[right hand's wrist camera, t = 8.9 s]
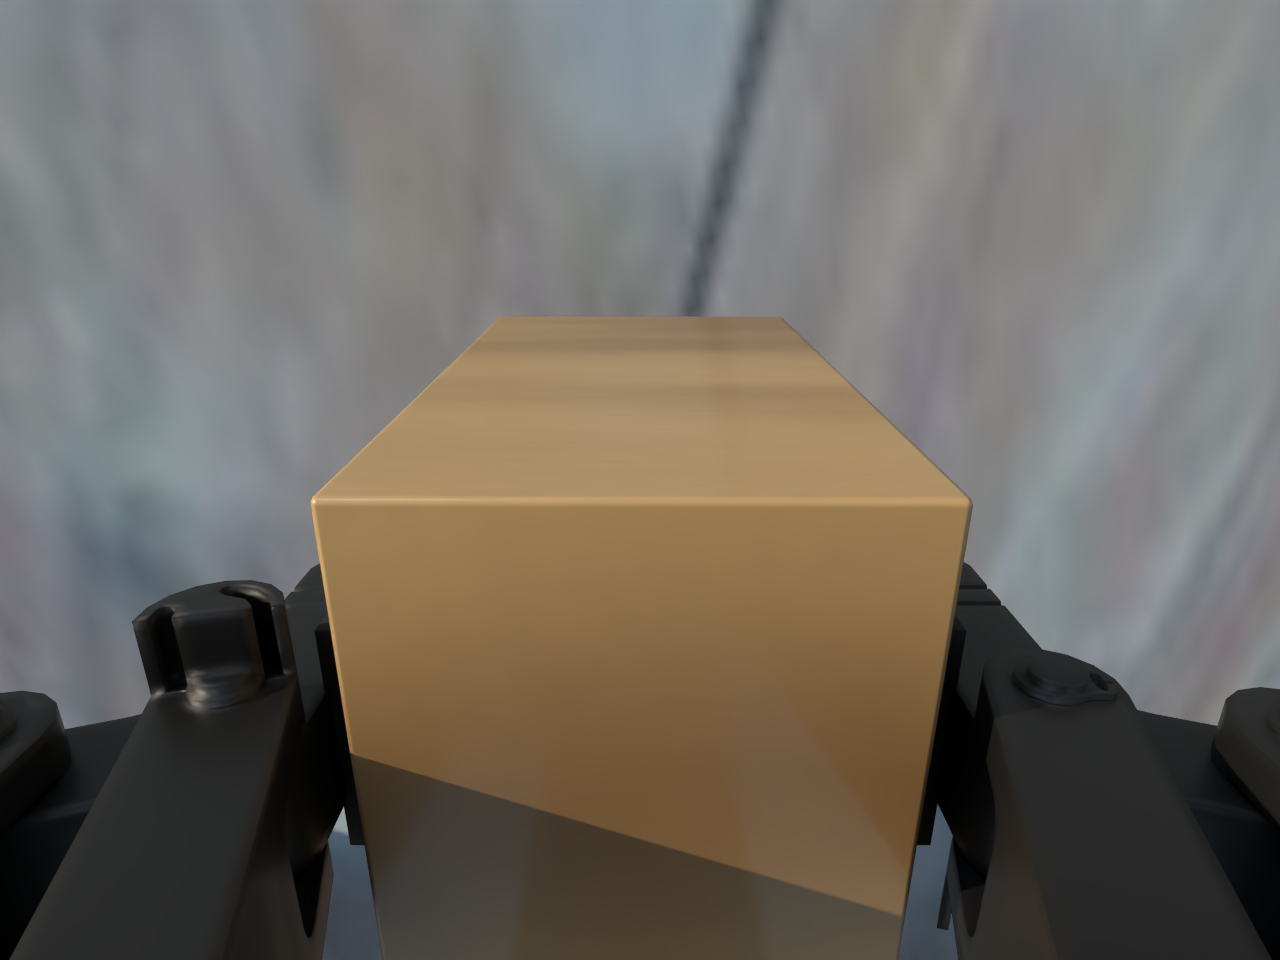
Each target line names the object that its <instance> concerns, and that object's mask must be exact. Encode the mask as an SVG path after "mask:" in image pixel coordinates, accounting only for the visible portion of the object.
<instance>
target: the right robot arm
mask: <svg viewBox="0 0 1280 960" xmlns="http://www.w3.org/2000/svg"><path fill="white" fill-rule="evenodd" d="M132 624H133V628H134V632H135V635H136V639H137V643H138V647H139V651H140V654H141V658H142V662H143V666H144V670H145V673H146V677H147V681H148V685H149V689H150V692H151V698H150V700H149V701H148V703H147V705H146V707H145V709H144V711H143V713H142V714H140V715H136V716H132V717H128V718H122V719H117V720H112V721H107V722H101V723H96V724H91V725H86V726H80V727H75V728H70V729H64V725H63V722H62V719H61V716H60V713H59V710H58V706H57V703H56V702H55V701H53V700H52V699H51V698H49V697H48V696H47V695H45V694H42V693H34V692H27V691H16V692H7V693H0V960H322V955H323V948H324V940H325V933H326V926H327V918H328V911H329V904H330V897H331V889H332V882H333V868H332V860H331V854H330V849H329V843H328V838H329V836H330V834H331V832H332V830H333V828H334V826H335V824H336V821H337V819H338V817H339V815H340V813H341V811H342V809H343V807H344V809H345V815H346V821H347V827H348V833H349V838H350V844H351V845H365V844H364V837H363V831H362V825H361V818H360V812H359V806H358V799H357V793H356V787H355V780H354V774H353V768H352V762H351V755H350V749H349V743H348V736H347V730H346V724H345V717H344V711H343V705H342V698H341V692H340V686H339V680H338V673H337V667H336V661H335V654H334V648H333V642H332V635H331V629H330V623H329V616H328V610H327V604H326V598H325V591H324V585H323V579H322V572H321V566H320V564H318V565H316V566H315V567H313V568H311V569H310V570H309V572H308V573H307V574H306V575H305V576H304V578H303V579H302V580H301V581H300V582H299V583H298V585H297V586H296V587H295V591H294V592H291V593H290V594H289V595H288V596H287V597H286V599H285V600H284V596H283V592H281V591H280V590H278V589H277V588H276V587H274V586H273V585H272V584H267V583H262V582H257V581H252V580H245V581H223V582H217V583H212V584H206V585H201V586H196V587H193V588H190V589H187V590H184V591H181V592H178V593H175V594H172V595H170V596H168V597H166V598H164V599H162V600H160V601H158V602H157V603H155V604H153V605H151V606H149V607H147V608H146V609H145V610H144V611H143V612H142V613H141V614H140V615H139V616H138V617H136V618H135V619H134V620H133V621H132ZM937 803H938V805H939V807H940V809H941V811H942V813H943V815H944V817H945V820H946V822H947V824H948V826H949V828H950V830H951V832H952V834H953V838H952V843H951V849H950V854H949V860H948V865H947V871H946V876H945V882H944V887H943V893H942V898H941V904H940V909H939V916H938V923H937V928H940V929H945V930H948V927H949V922H950V916H951V913H952V917H953V924H954V931H955V939H956V946H957V953H958V960H1280V689H1272V688H1263V687H1258V688H1251V689H1243V690H1238V691H1236V692H1235V693H1234V694H1232V695H1231V696H1229V697H1228V698H1227V699H1226V701H1225V704H1224V707H1223V710H1222V713H1221V716H1220V720H1219V723H1218V726H1215V725H1209V724H1204V723H1199V722H1193V721H1188V720H1183V719H1178V718H1172V717H1167V716H1162V715H1156V714H1152V713H1148V712H1143V711H1139V710H1137V709H1136V707H1135V706H1134V704H1133V702H1132V700H1131V698H1130V696H1129V695H1128V694H1127V692H1126V691H1125V690H1124V689H1123V688H1122V687H1121V685H1120V684H1119V683H1118V682H1117V681H1116V680H1115V679H1114V678H1112V677H1111V676H1109V675H1108V674H1106V673H1104V672H1103V671H1101V670H1100V669H1098V668H1097V667H1095V666H1094V665H1091V664H1089V663H1086V662H1084V661H1081V660H1079V659H1076V658H1074V657H1071V656H1069V655H1065V654H1061V653H1056V652H1051V651H1047V650H1042V649H1041V648H1040V646H1039V645H1038V644H1037V643H1036V642H1035V641H1034V639H1033V638H1032V637H1031V636H1030V635H1029V634H1028V633H1027V631H1026V630H1025V629H1024V628H1023V627H1022V626H1021V624H1020V623H1019V622H1018V621H1017V620H1016V619H1015V617H1014V616H1013V615H1012V614H1011V613H1010V612H1009V610H1008V609H1007V608H1006V607H1005V606H1001V601H1000V600H999V599H998V598H997V596H996V595H995V594H994V593H993V592H992V591H991V589H987V585H986V584H985V582H984V581H983V580H982V579H981V578H980V577H979V575H978V574H977V573H976V572H975V571H974V570H973V569H972V567H971V566H970V565H968V564H966V563H964V562H963V568H962V574H961V580H960V586H959V592H958V598H957V604H956V610H955V616H954V622H953V628H952V634H951V641H950V647H949V653H948V659H947V665H946V671H945V677H944V683H943V689H942V695H941V701H940V707H939V713H938V719H937V725H936V731H935V737H934V743H933V750H932V756H931V762H930V768H929V774H928V780H927V786H926V792H925V798H924V804H923V810H922V816H921V822H920V828H919V834H918V840H917V845H930V844H931V838H932V832H933V826H934V820H935V814H936V808H937Z"/></svg>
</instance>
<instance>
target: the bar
mask: <svg viewBox="0 0 1280 960" xmlns="http://www.w3.org/2000/svg"><path fill="white" fill-rule="evenodd" d="M972 507H973V504H972V500H971V498H970V497H969V496H968V495H967V494H966V493H965V492H964V491H963V490H961V489H960V488H959V487H958V486H957V485H956V484H955V483H954V482H953V481H952V480H951V479H950V478H949V477H948V476H947V475H946V474H945V473H944V472H943V471H942V470H941V469H939V468H938V467H937V466H936V465H935V464H934V463H933V462H932V461H931V460H930V459H929V458H928V457H927V456H926V455H925V454H924V453H923V452H922V451H921V450H920V449H919V448H918V447H916V446H915V445H914V444H913V443H912V442H911V441H910V440H909V439H908V438H907V437H906V436H905V435H904V434H903V433H902V432H901V431H900V430H899V429H898V428H897V427H896V426H894V425H893V424H892V423H891V422H890V421H889V420H888V419H887V418H886V417H885V416H884V415H883V414H882V413H881V412H880V411H879V410H878V409H877V408H876V407H875V406H874V405H872V404H871V403H870V402H869V401H868V400H867V399H866V398H865V397H864V396H863V395H862V394H861V393H860V392H859V391H858V390H857V389H856V388H855V387H854V386H853V385H852V384H851V383H849V382H848V381H847V380H846V379H845V378H844V377H843V376H842V375H841V374H840V373H839V372H838V371H837V370H836V369H835V368H834V367H833V366H832V365H831V364H830V363H829V362H827V361H826V360H825V359H824V358H823V357H822V356H821V355H820V354H819V353H818V352H817V351H816V350H815V349H814V348H813V347H812V346H811V345H810V344H809V343H808V342H807V341H805V340H804V339H803V338H802V337H801V336H800V335H799V334H798V333H797V332H796V331H795V330H794V329H793V328H792V327H791V326H790V325H789V324H788V323H787V322H786V321H785V320H784V319H782V318H781V317H561V316H502V317H500V318H498V319H497V320H496V321H495V322H494V323H493V324H492V325H491V326H490V327H489V328H488V329H487V330H486V331H485V332H484V333H483V334H482V335H481V336H480V337H479V338H478V339H477V340H476V341H475V342H473V343H472V344H471V345H470V346H469V347H468V348H467V349H466V350H465V351H464V352H463V353H462V354H461V355H460V356H459V357H458V358H457V359H456V360H455V361H454V362H453V363H452V364H451V365H450V366H449V367H447V368H446V369H445V370H444V371H443V372H442V373H441V374H440V375H439V376H438V377H437V378H436V379H435V380H434V381H433V382H432V383H431V384H430V385H429V386H428V387H427V388H426V389H425V390H424V391H423V392H421V393H420V394H419V395H418V396H417V397H416V398H415V399H414V400H413V401H412V402H411V403H410V404H409V405H408V406H407V407H406V408H405V409H404V410H403V411H402V412H401V413H400V414H399V415H398V416H396V417H395V418H394V419H393V420H392V421H391V422H390V423H389V424H388V425H387V426H386V427H385V428H384V429H383V430H382V431H381V432H380V433H379V434H378V435H377V436H376V437H375V438H374V439H373V440H372V441H370V442H369V443H368V444H367V445H366V446H365V447H364V448H363V449H362V450H361V451H360V452H359V453H358V454H357V455H356V456H355V457H354V458H353V459H352V460H351V461H350V462H349V463H348V464H347V465H346V466H344V467H343V468H342V469H341V470H340V471H339V472H338V473H337V474H336V475H335V476H334V477H333V478H332V479H331V480H330V481H329V482H328V483H327V484H326V485H325V486H324V487H323V488H322V489H321V490H319V491H318V492H317V493H316V494H315V495H314V496H313V497H312V501H311V509H312V516H313V522H314V528H315V534H316V541H317V547H318V553H319V560H320V566H321V572H322V579H323V585H324V591H325V598H326V604H327V610H328V616H329V623H330V629H331V635H332V642H333V648H334V654H335V661H336V667H337V673H338V680H339V686H340V692H341V698H342V705H343V711H344V717H345V724H346V730H347V736H348V743H349V749H350V755H351V762H352V768H353V774H354V780H355V787H356V793H357V799H358V806H359V812H360V818H361V825H362V831H363V837H364V844H365V850H366V856H367V862H368V869H369V875H370V881H371V888H372V894H373V900H374V907H375V913H376V919H377V925H378V932H379V938H380V944H381V951H382V957H383V960H898V955H899V949H900V943H901V937H902V931H903V925H904V919H905V913H906V907H907V901H908V895H909V889H910V883H911V877H912V871H913V865H914V859H915V852H916V846H917V840H918V834H919V828H920V822H921V816H922V810H923V804H924V798H925V792H926V786H927V780H928V774H929V768H930V762H931V756H932V750H933V743H934V737H935V731H936V725H937V719H938V713H939V707H940V701H941V695H942V689H943V683H944V677H945V671H946V665H947V659H948V653H949V647H950V641H951V634H952V628H953V622H954V616H955V610H956V604H957V598H958V592H959V586H960V580H961V574H962V568H963V562H964V556H965V550H966V544H967V538H968V532H969V525H970V519H971V513H972Z"/></svg>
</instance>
